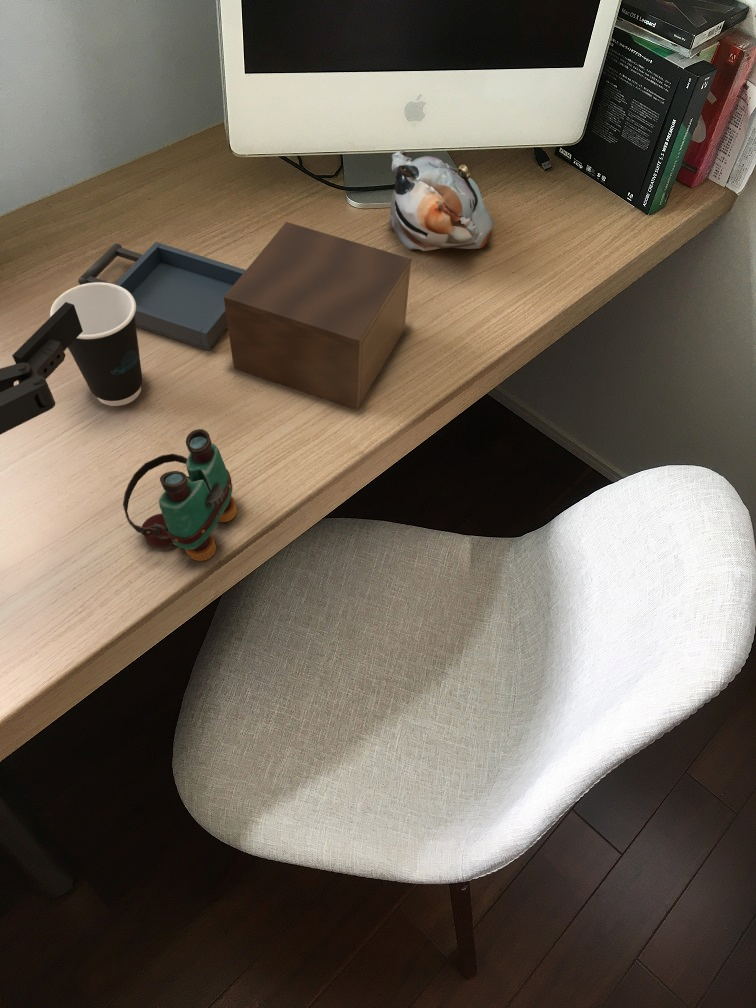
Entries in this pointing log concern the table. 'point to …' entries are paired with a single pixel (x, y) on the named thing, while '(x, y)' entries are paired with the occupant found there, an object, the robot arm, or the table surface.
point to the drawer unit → (318, 313)
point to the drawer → (174, 291)
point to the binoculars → (189, 499)
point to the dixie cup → (106, 341)
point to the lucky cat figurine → (437, 205)
